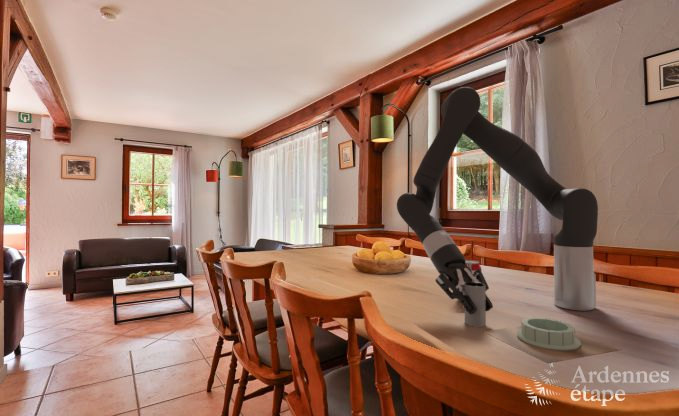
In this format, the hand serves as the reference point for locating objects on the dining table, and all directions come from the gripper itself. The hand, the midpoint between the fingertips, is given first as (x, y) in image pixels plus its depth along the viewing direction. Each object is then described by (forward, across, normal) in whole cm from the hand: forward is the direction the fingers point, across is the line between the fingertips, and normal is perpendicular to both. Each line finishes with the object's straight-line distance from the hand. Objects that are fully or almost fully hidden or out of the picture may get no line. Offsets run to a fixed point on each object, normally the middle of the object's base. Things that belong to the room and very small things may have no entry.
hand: (481, 310), depth 78 cm
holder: (+11, +5, -6) cm, 13 cm away
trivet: (+12, +5, -5) cm, 14 cm away
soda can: (-10, +17, +17) cm, 26 cm away
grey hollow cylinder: (+2, 0, +5) cm, 5 cm away
